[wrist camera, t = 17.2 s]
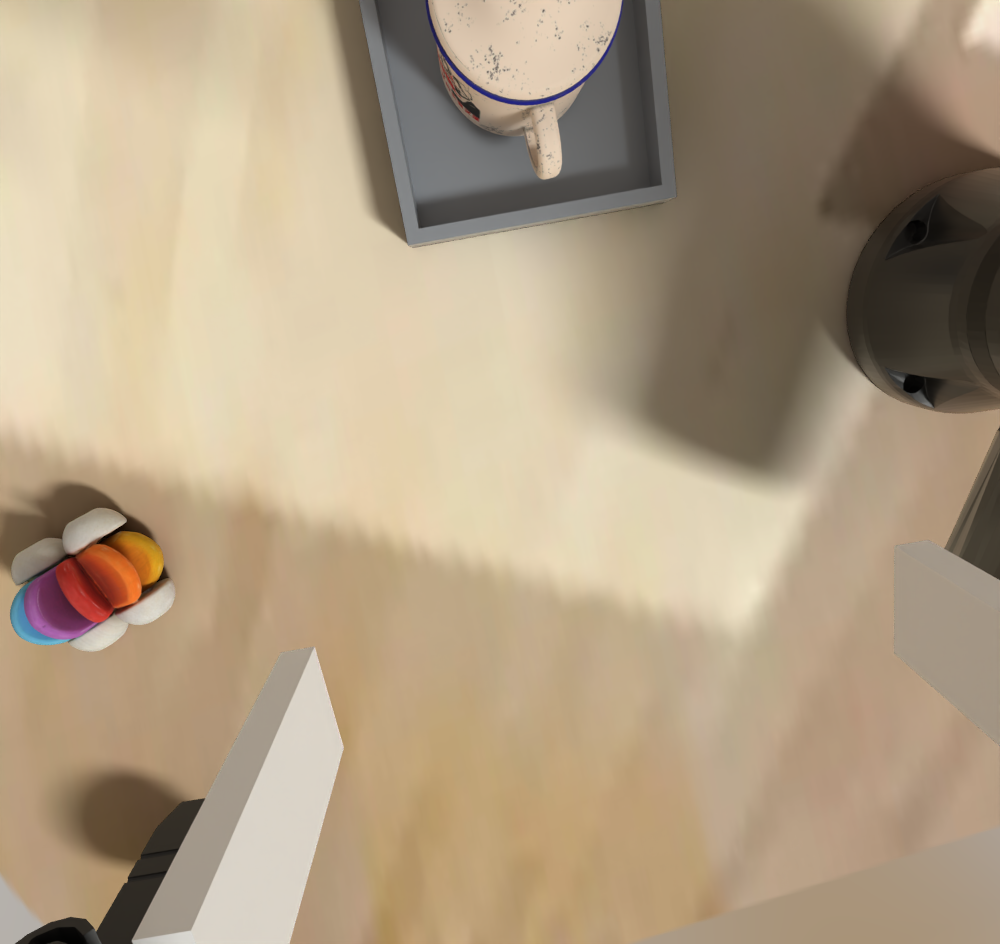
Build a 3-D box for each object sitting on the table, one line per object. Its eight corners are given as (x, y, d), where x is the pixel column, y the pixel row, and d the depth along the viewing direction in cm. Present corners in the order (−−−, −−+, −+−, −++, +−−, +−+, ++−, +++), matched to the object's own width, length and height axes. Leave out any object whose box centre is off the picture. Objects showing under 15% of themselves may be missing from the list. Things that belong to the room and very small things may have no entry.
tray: (634, -101, 36) (648, -134, 33) (662, 203, 41) (676, 197, 38) (353, -49, 36) (343, -77, 34) (412, 248, 41) (408, 245, 38)
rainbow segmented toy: (204, 583, 47) (157, 636, 40) (96, 643, 48) (32, 705, 41) (129, 487, 45) (65, 525, 38) (17, 552, 46) (-64, 601, 39)
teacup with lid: (416, -14, 36) (392, -146, 25) (573, -55, 36) (619, -206, 25) (468, 209, 40) (467, 180, 29) (612, 173, 40) (669, 129, 28)
